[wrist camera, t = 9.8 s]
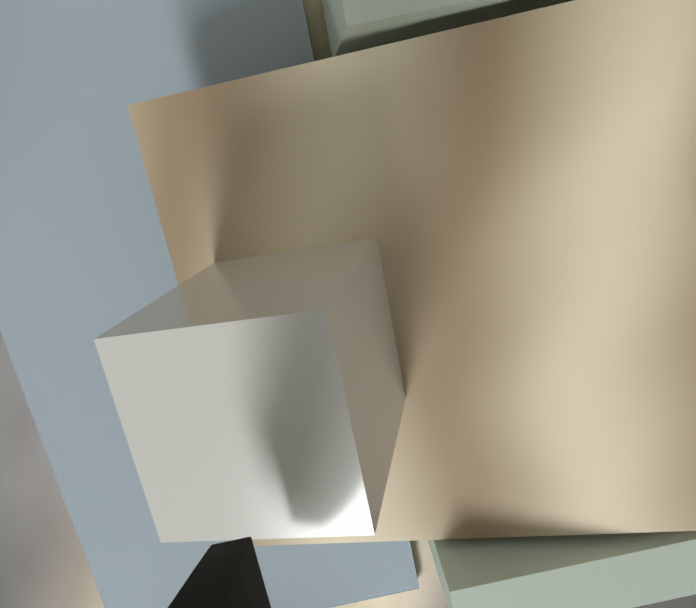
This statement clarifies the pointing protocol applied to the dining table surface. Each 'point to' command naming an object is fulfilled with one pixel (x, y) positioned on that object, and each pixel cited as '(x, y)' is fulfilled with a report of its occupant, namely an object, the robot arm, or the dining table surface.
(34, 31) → the mat
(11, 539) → the dining table surface
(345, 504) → the light grey block
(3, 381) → the dining table surface
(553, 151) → the flap
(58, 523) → the dining table surface
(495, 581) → the flap stand
